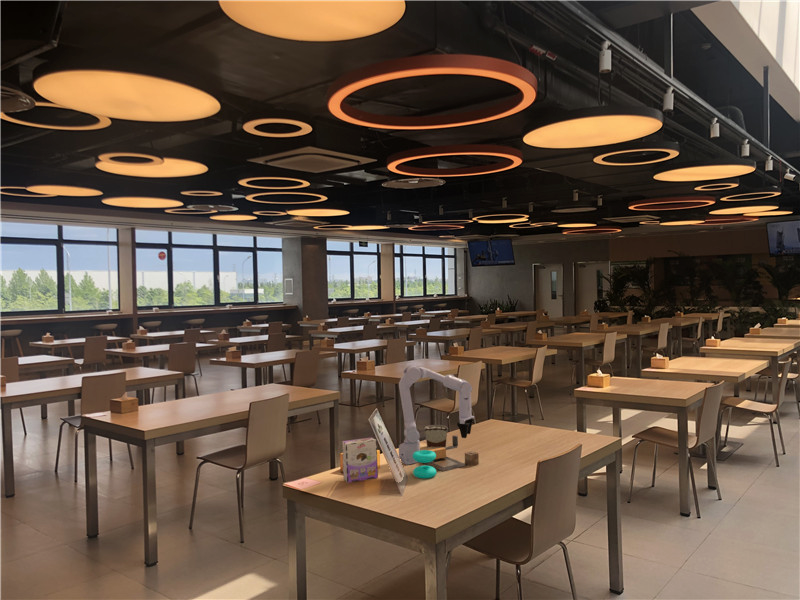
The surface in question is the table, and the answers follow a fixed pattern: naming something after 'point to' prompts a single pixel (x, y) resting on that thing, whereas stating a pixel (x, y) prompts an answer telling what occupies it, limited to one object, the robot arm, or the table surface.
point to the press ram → (442, 451)
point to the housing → (471, 458)
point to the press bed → (445, 464)
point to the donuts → (424, 470)
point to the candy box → (360, 459)
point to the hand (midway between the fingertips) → (466, 435)
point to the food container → (436, 435)
